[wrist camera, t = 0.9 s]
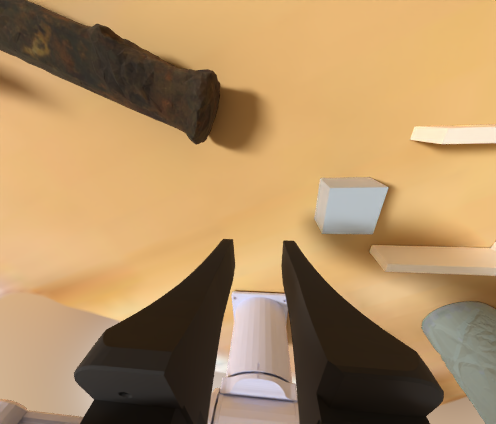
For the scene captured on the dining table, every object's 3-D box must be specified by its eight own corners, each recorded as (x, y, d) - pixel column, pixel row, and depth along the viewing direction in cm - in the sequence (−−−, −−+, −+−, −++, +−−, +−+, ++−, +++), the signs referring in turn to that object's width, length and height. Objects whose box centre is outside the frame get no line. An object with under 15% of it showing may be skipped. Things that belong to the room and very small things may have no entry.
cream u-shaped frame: (495, 255, 19) (532, 277, 17) (369, 251, 20) (384, 271, 18) (601, 121, 13) (684, 121, 11) (414, 126, 14) (448, 128, 12)
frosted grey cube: (357, 218, 19) (372, 234, 16) (313, 218, 19) (321, 233, 17) (368, 176, 17) (388, 187, 14) (319, 177, 17) (330, 188, 15)
